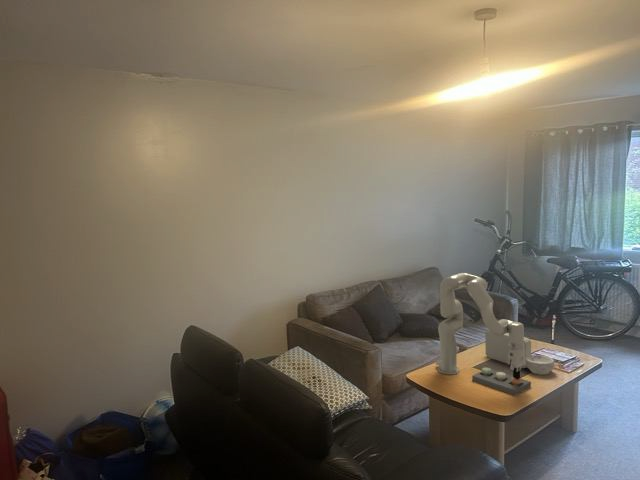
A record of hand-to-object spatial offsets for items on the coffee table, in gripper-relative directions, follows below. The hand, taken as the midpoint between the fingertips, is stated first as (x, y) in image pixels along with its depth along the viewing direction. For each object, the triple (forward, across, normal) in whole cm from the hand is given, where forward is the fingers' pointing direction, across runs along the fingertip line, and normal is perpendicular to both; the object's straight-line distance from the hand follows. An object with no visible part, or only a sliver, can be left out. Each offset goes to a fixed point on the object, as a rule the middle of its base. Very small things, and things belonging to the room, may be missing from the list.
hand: (516, 377), depth 248 cm
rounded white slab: (+6, +32, +24) cm, 41 cm away
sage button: (+3, 0, +18) cm, 18 cm away
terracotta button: (+3, 0, 0) cm, 3 cm away
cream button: (+3, 0, +9) cm, 10 cm away
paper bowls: (+7, +31, +3) cm, 32 cm away
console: (+6, 0, +9) cm, 11 cm away
